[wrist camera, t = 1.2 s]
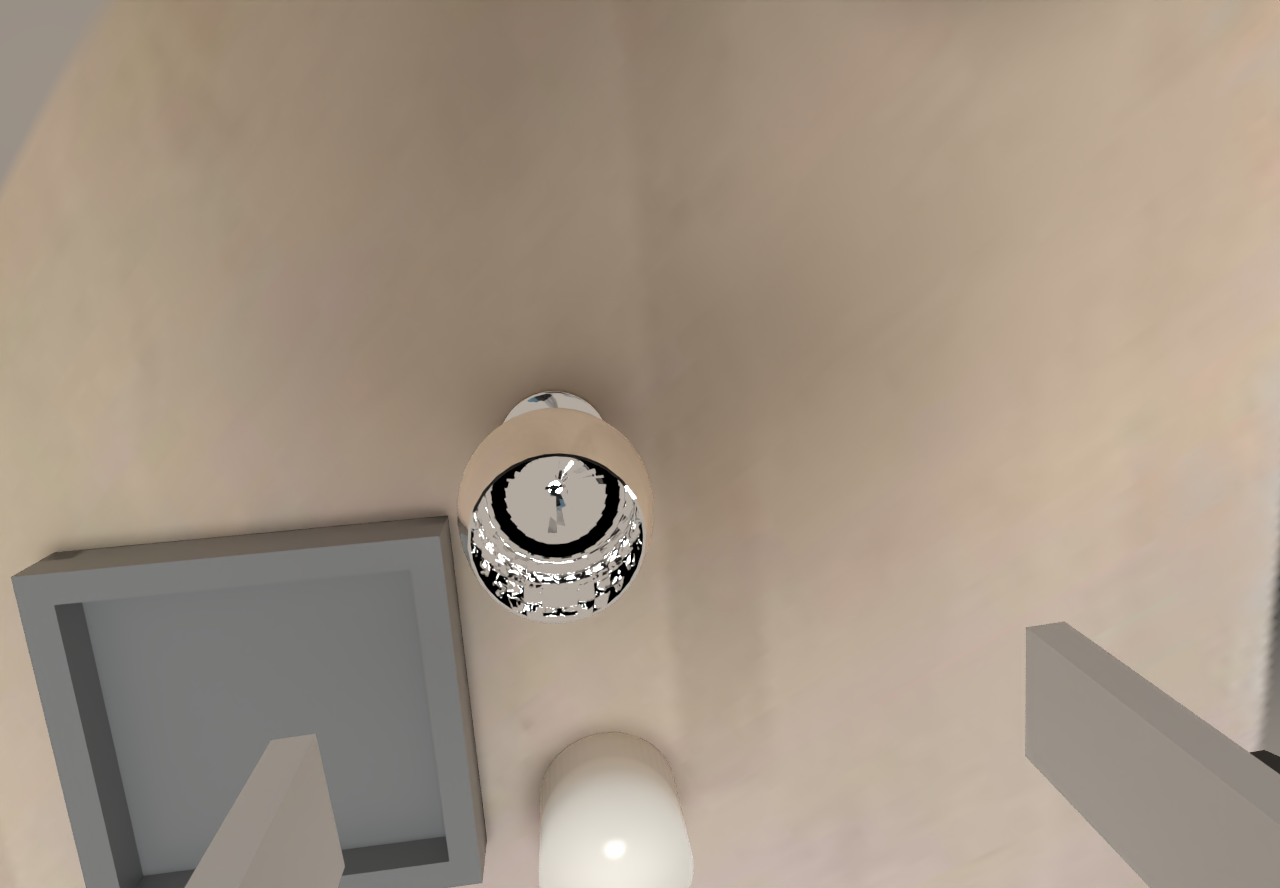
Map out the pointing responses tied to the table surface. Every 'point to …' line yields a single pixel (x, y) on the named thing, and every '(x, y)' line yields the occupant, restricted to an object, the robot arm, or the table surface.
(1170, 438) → the table surface
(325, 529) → the tray
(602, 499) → the wineglass
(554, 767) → the white pillar candle
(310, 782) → the robot arm
